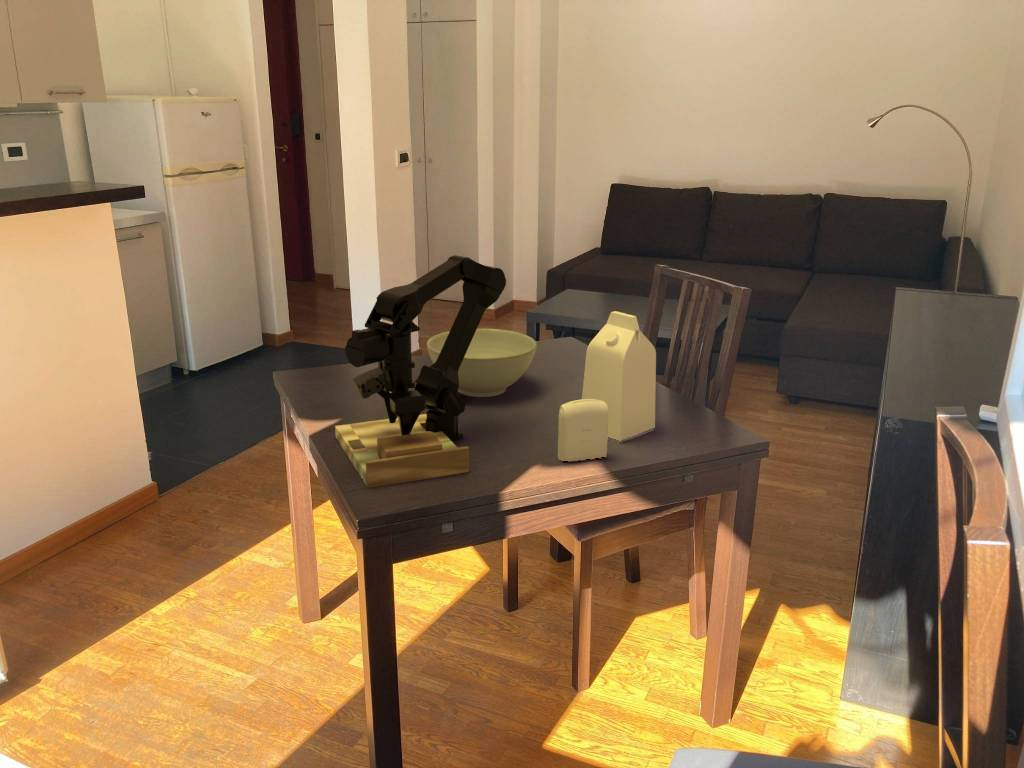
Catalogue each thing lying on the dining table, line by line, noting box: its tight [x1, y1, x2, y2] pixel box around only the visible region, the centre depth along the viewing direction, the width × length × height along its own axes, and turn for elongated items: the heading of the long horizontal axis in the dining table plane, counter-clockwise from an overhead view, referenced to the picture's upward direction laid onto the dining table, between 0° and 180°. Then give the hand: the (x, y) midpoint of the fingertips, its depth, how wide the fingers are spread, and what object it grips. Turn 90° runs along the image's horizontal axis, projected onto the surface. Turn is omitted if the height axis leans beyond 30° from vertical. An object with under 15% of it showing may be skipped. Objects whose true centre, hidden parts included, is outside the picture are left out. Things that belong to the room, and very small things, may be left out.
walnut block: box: [377, 432, 442, 459], centre depth 165 cm, size 7×11×4 cm, turn 112°
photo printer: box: [557, 398, 609, 462], centre depth 172 cm, size 10×4×12 cm, turn 104°
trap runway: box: [334, 413, 470, 489], centre depth 174 cm, size 27×20×5 cm
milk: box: [581, 310, 657, 441], centre depth 185 cm, size 12×12×26 cm
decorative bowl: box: [426, 328, 538, 398], centre depth 212 cm, size 27×27×12 cm
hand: (398, 430), depth 173 cm, fingers open, 9 cm apart
